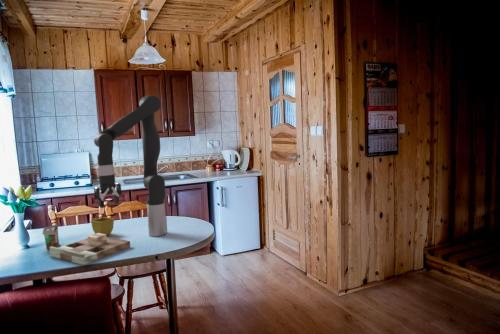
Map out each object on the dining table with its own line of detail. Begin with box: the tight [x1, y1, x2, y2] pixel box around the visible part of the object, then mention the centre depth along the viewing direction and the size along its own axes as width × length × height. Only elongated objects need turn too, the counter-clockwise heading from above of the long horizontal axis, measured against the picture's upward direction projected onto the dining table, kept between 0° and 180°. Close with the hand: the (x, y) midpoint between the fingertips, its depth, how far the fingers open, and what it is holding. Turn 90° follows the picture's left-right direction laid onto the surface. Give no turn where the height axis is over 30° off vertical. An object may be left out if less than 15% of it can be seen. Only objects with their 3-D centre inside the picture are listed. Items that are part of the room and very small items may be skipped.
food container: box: [41, 224, 60, 251], centre depth 185 cm, size 12×6×10 cm, turn 21°
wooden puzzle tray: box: [49, 236, 131, 266], centre depth 177 cm, size 26×25×4 cm
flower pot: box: [90, 216, 115, 237], centre depth 204 cm, size 9×9×9 cm
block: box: [87, 233, 107, 246], centre depth 180 cm, size 6×6×4 cm
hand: (109, 205), depth 185 cm, fingers open, 8 cm apart
